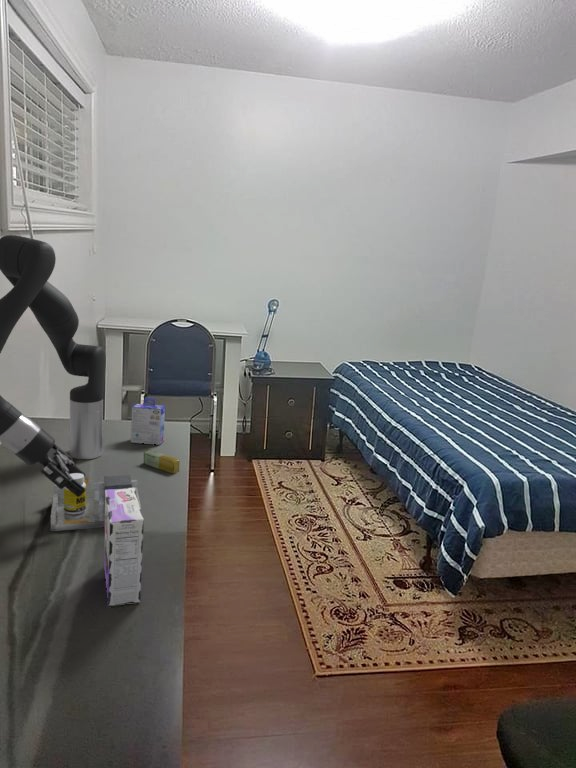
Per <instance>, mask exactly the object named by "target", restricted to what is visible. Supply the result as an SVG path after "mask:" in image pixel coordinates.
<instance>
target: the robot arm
mask: <svg viewBox="0 0 576 768" xmlns="http://www.w3.org/2000/svg"><path fill="white" fill-rule="evenodd" d="M56 259H57V258H56V251H55V250H54V248H53V246H52V245H51V244H50V243H48V242H46V241H42V240H38V239H35V238H30V237H26V236H21V235H14V234H7V235H3V236H2V237H0V272H1V273H2V274H3V275H4V277H5V278H6V279H7V280H8V281H9V283H10V284H11V285H12V286H13V287H12V289H11V290H9V291H8V292H7V293H6V294H5V295H4V296H2V297H1V298H0V354H1V353H2V351H3V350H4V347H5V345H6V344H7V341H8V340H9V337H10V335H11V333H12V332H13V330H14V328H15V327H16V325H17V323H18V322H19V320H20V318H21V317H22V316H23V314H24V313H25V312H26V311H27V309H28V308H29V309H30V310H31V312H32V314H33V316H34V317H35V319H36V321H37V322H38V324H39V325H40V326H41V327H40V328H41V329H42V330H43V331H44V333H45V334H46V335H47V337H48V338H49V341H50V342H51V344H52V346H53V348H54V349H55V351H56V353H57V356H58V358H59V359H60V360H59V361H60V362H61V364H62V366H63V368H64V370H65V371H66V372H67V374H69V375H72V376H77V377H86V378H88V380H87V383H86V384H83V385H79V386H75V387H73V388H71V389H70V391H69V454H68V453H66V452H65V451H64V450H63V449H62V448H60V447H59V446H58V445H57V444H56V439H55V438H54V437H53V436H52V435H50V434H49V433H48V432H46V431H45V430H44V428H42V427H41V426H40V425H38V424H37V423H36V422H35V421H34V420H32V419H31V418H30V417H28V416H27V415H24V414H23V413H22V412H21V411H20V410H19V409H18V408H16V407H15V406H14V405H12V403H10V402H9V401H8V400H6V399H4V397H3V396H2V395H1V394H0V443H1V444H2V445H3V446H4V447H5V448H6V449H7V450H9V452H12V453H13V454H14V455H15V456H16V457H17V458H18V459H20V460H22V461H23V463H25V464H26V465H28V466H34V465H35V464H38V463H39V464H40V465H41V466H42V469H41V470H40V473H41V474H42V475H44V477H46V478H47V479H48V480H49V481H51V482H52V483H53V485H54V484H55V485H57V486H58V487H59V488H60V489H63V488H65V487H66V488H67V489H69V490H70V491H71V492H72V493H73V494H75V495H76V496H77V497H79V496H81V495H82V494H83V493H84V492H85V488H84V487H83V486H81V485H80V484H79V483H78V482H77V481H75V480H74V479H73V478H72V477H71V476H70V474H72V473H81V474H83V475H84V478H86V473H85V472H84V471H83V470H81V469H80V468H79V467H78V466H76V465H75V462H74V461H73V459H76V460H77V459H79V460H91V459H96V458H99V457H101V456H102V455H103V443H104V442H103V441H104V438H103V437H104V436H103V433H104V431H103V429H104V425H103V424H104V391H105V381H106V380H105V377H106V365H107V364H106V361H107V359H106V358H107V356H106V351H105V350H104V348H103V347H102V346H100V345H99V346H98V345H93V344H90V345H89V344H80V343H77V342H76V341H75V340H74V339H73V338H74V336H75V335H76V333H77V331H78V329H79V325H80V324H79V322H80V319H79V317H78V313H77V311H76V309H75V308H74V307H73V305H72V303H71V301H70V300H69V298H68V297H67V296H66V295H65V294H64V293H63V292H61V291H60V290H59V289H58V288H57V287H56V286H54V285H53V284H52V283H51V282H49V279H50V277H51V275H52V274H53V271H54V269H55V268H56V267H55V266H56Z"/></svg>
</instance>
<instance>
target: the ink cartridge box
mask: <svg viewBox="0 0 576 768" xmlns="http://www.w3.org/2000/svg"><path fill="white" fill-rule="evenodd" d="M147 401H152V402H147ZM165 414H166V406H165V405H158V404H156V398H151V397H144V401H143V403H135V404H134V405H133V406H132V407H131V424H130V425H131V427H130V443H131V444H132V443H133V444H142V443H144V444H145V445H154V444H156V445H155V446H161V445H162V443H163V442H165V419H166V417H165V416H166V415H165ZM144 444H143V445H144Z"/></svg>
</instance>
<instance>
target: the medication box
mask: <svg viewBox="0 0 576 768" xmlns="http://www.w3.org/2000/svg"><path fill="white" fill-rule="evenodd" d="M143 464H145V465H148V466H150V467H153V468H155V469H158V470H161V471H164V472H168V473H171V474H174V475H175V474H176V473H179V472H180V459H179V458H176V457H173V456H170V455H168V454H164V453H161V452H158V451H154V450H152V449H147V450H145V451H143Z"/></svg>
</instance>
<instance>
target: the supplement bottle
mask: <svg viewBox="0 0 576 768" xmlns="http://www.w3.org/2000/svg"><path fill="white" fill-rule="evenodd" d="M70 476H71V477H72V478H73V479H74V480H75V481H77V482H78V483H79V484H80V485H81V486H83V487H84V488H85V492H84V493H83V494H82V495H81V496H79V497H77V496H76V495H75V494H73V493H72V492H71V491H70V490H69V489H67V488H66V487H65V488H64V512H65V513H67V514H80V513H83V512H84V511H85V510H86V484H85V483H84V478H85V477H84V475H83V474H81V473H72V474H70Z"/></svg>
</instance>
